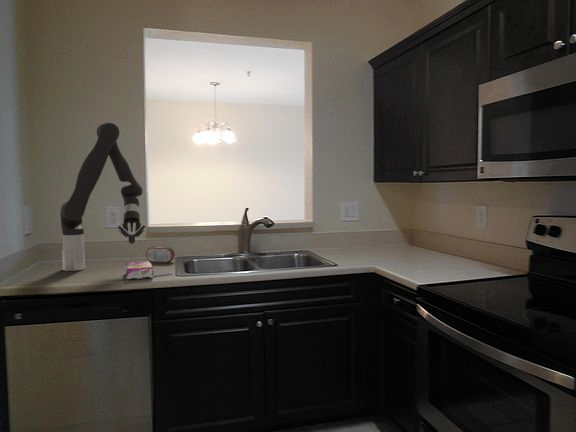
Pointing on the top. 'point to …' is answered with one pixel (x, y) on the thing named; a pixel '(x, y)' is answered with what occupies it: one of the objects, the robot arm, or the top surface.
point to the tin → (160, 254)
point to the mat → (159, 273)
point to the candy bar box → (139, 270)
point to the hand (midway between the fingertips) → (131, 242)
